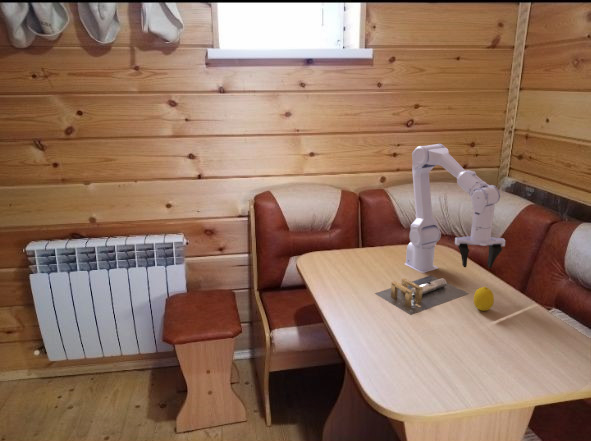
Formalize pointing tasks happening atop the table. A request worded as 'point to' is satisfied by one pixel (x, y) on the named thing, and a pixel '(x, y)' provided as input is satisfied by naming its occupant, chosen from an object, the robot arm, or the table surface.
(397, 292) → the plate
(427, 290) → the tube
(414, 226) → the robot arm
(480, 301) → the lemon
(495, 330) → the table surface
